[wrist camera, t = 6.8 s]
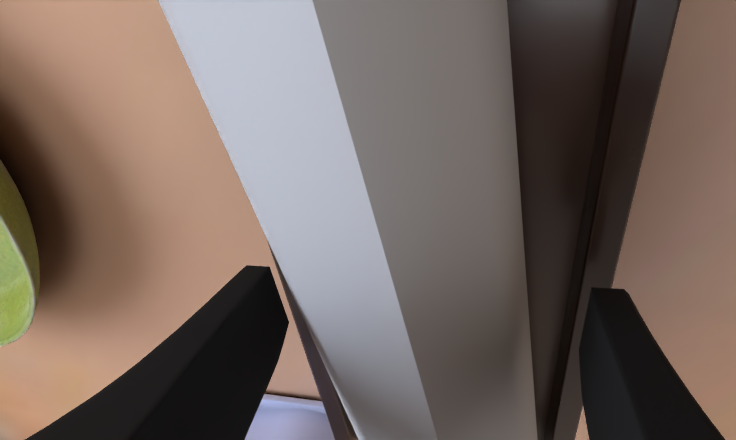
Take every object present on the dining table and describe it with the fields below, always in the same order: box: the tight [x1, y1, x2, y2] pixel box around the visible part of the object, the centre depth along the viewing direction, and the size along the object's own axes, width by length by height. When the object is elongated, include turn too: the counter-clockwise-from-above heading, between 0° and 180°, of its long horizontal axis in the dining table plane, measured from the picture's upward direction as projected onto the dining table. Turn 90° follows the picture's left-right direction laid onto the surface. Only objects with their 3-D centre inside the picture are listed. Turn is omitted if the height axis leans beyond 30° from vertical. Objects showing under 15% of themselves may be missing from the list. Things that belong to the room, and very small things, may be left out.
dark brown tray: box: [267, 0, 681, 440], centre depth 15 cm, size 9×24×5 cm, turn 8°
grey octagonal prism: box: [158, 0, 538, 440], centre depth 11 cm, size 5×5×25 cm
